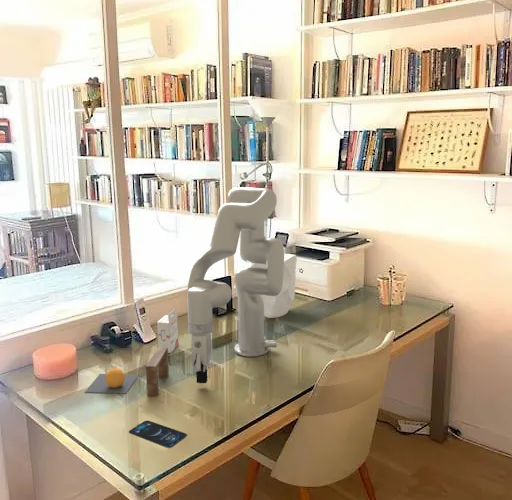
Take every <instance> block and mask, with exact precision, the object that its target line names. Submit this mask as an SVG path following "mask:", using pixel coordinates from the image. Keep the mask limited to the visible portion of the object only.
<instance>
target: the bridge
mask: <svg viewBox="0 0 512 500" xmlns="http://www.w3.org/2000/svg"><path fill="white" fill-rule="evenodd" d="M169 370H170V369H169V353H168V347H159V346H158V347H157V349H156V350H155V352H154V353H153V355H152V356H151V358H150V359H149V361H148V362H147V364H146V365H145V371H146V372H145V376H146V393H147V395H146V396H147V397H158V395H159V393H160V391H159V390H160V388H159V387H160V386H159V378H167V379H168V377H169V375H170V373H169V372H170V371H169Z"/></svg>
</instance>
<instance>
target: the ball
mask: <svg viewBox="0 0 512 500" xmlns="http://www.w3.org/2000/svg"><path fill="white" fill-rule="evenodd" d="M105 374H106V377H105V380H106V383H107V385H108V386H110V387H112V388H117V387H120V386H121V385H122V384H123V383H124V381H125V375H126V374H125V372H124V371H123V370H122V369H121V368H117V367H116V368H111V369H109V370H108V371H107V372H106V373H105Z"/></svg>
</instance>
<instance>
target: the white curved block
mask: <svg viewBox="0 0 512 500" xmlns="http://www.w3.org/2000/svg"><path fill="white" fill-rule="evenodd" d="M249 266H253V267H261V268H267V265H265V264H257V263H249ZM296 269H297V254H290V253H284V278H283V287H282V290H281V292H280V294H279V295H277V296H267V295H261V297H262V299H263V302H264V318H265V317H266V318H269V319H275V318H279V317H283V316H285V315H287V314H288V312H289V310H290V309H291V308H290V307H291V305H292V303H293V301H295V296H296V295H295V293H296ZM232 289H233V291H234V292H235V294H237V290H236V286H235V285H234V286H233V288H232Z"/></svg>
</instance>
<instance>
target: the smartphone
mask: <svg viewBox="0 0 512 500" xmlns="http://www.w3.org/2000/svg"><path fill="white" fill-rule="evenodd" d="M128 434H131V435H133V436H136V437H138V438H140V439H144V440H145V441H148V442H151V443H153V444H157V445H159V446H161V447H164V448H167V449H171V448H173V447H174V446H176V445H177V444H179V443H180V442H182V440H184V439H185V438H186V437H187V436H188V434H187V433H186V432H183V431H180V430H178V429H175V428H172V427H169V426H165V425H162V424H159V423H157V422H154V421H151V420H144V421H142V422H141V423H139V424H137V425H136V426H134V427H133V428H131V429H129V431H128Z"/></svg>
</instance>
